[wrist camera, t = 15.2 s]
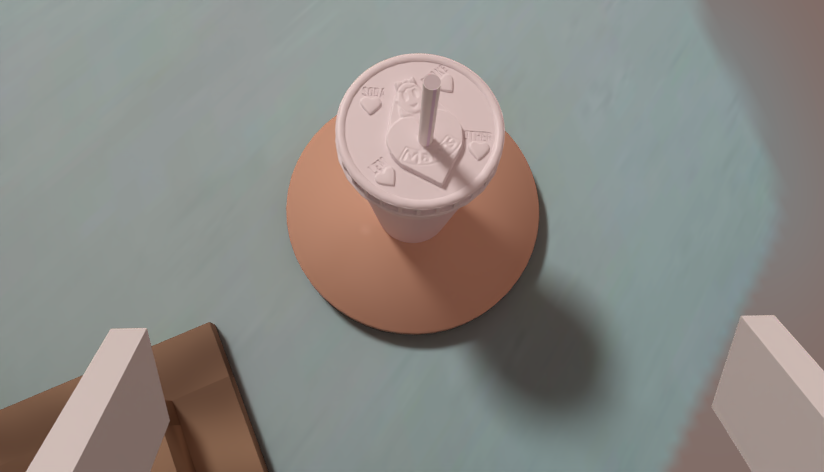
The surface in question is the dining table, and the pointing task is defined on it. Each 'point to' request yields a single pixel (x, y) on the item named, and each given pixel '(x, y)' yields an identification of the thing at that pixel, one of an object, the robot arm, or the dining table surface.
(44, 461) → the robot arm
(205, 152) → the dining table surface
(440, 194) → the smoothie
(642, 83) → the dining table surface
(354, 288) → the coaster
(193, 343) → the cup holder
